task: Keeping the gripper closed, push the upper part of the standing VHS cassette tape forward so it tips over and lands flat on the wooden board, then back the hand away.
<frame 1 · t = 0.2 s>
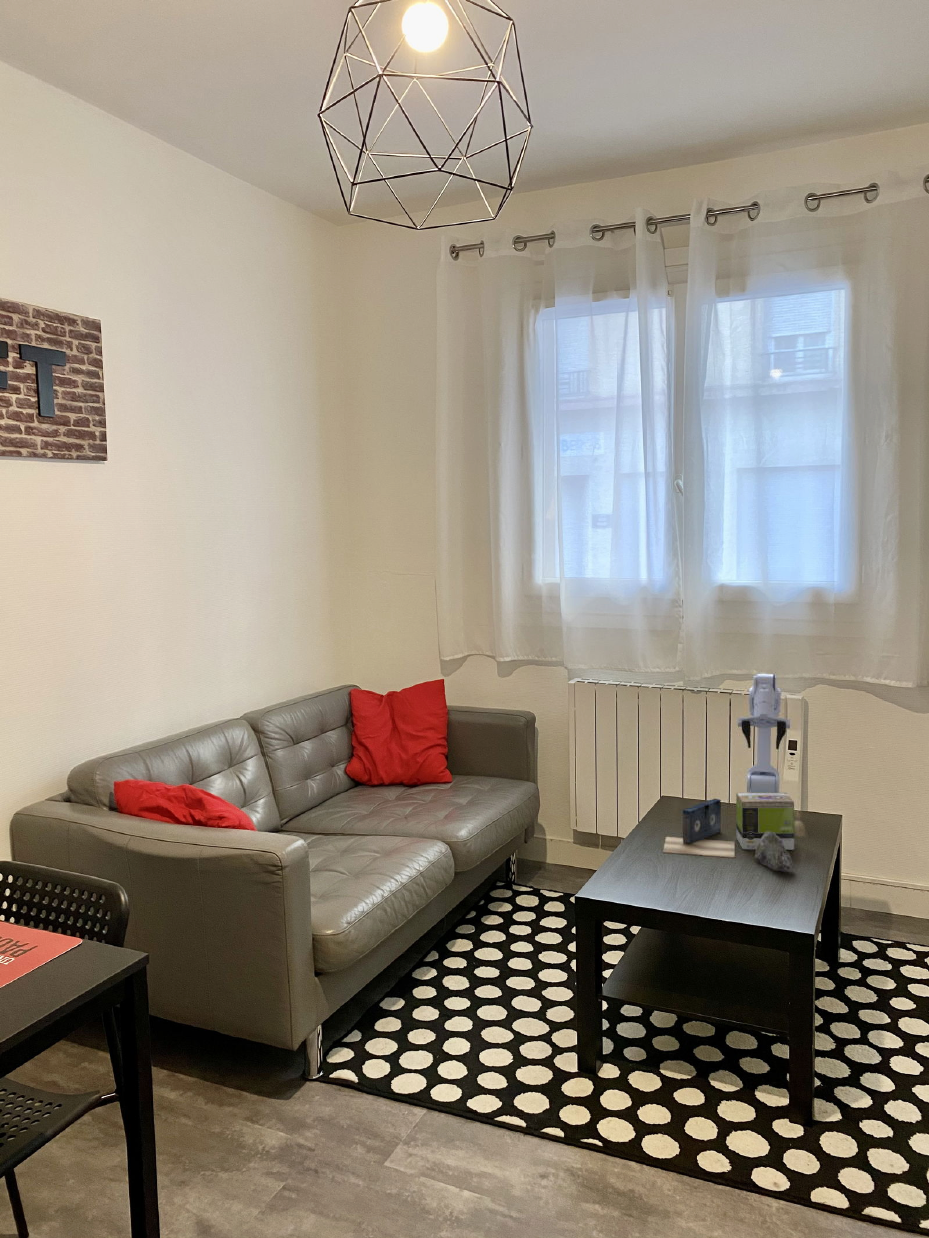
hand: (763, 746, 279), 31 cm above the table, tool tilted 45°, fingers open, 7 cm apart
wooden board: (699, 847, 287), on the table
vhs cassette tape: (702, 837, 296), on the table, touching wooden board
tea box: (764, 845, 289), on the table
mineral rock: (773, 869, 270), on the table
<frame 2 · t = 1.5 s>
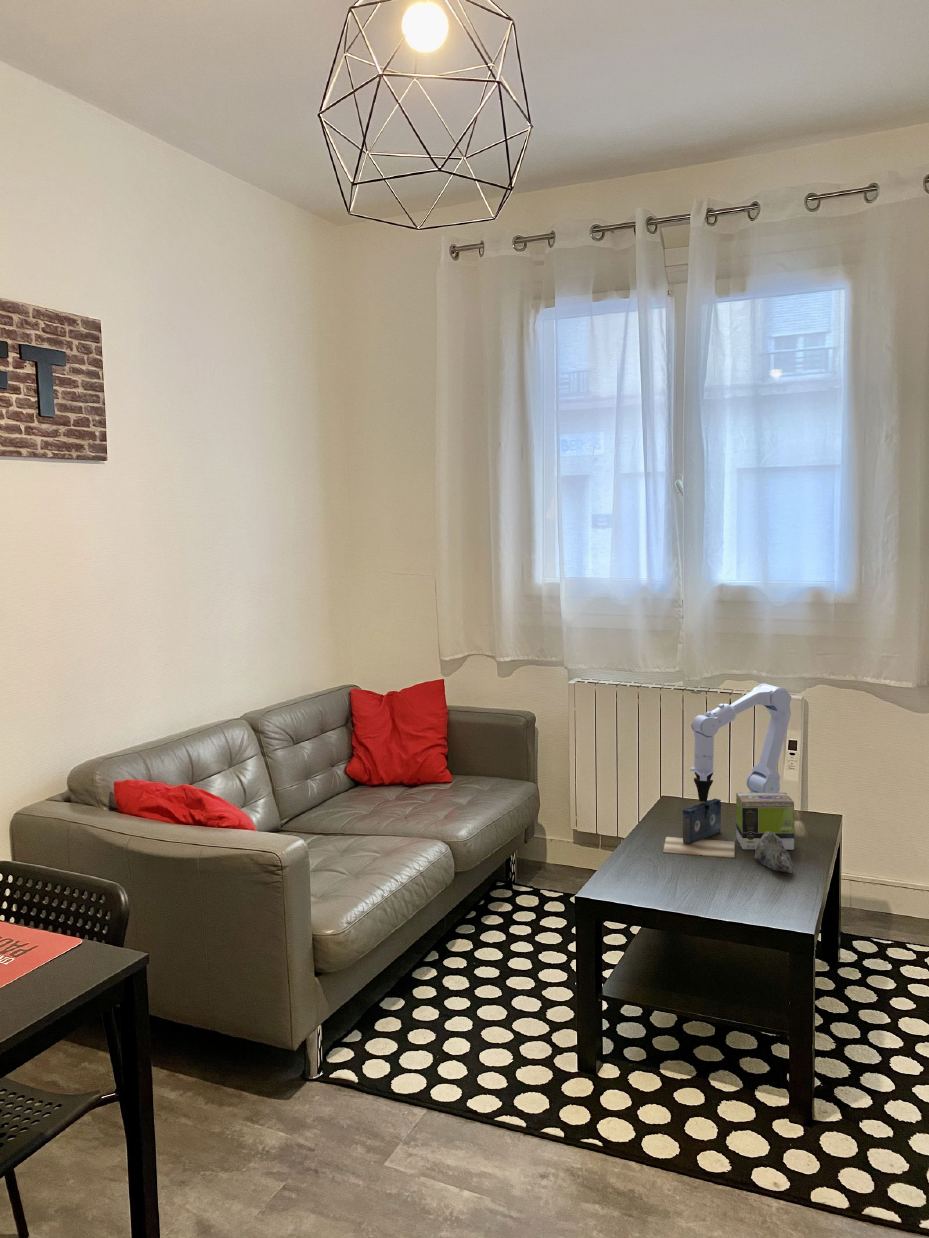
hand: (703, 797, 301), 11 cm above the table, tool pointing down, fingers open, 7 cm apart
nothing on the table moved.
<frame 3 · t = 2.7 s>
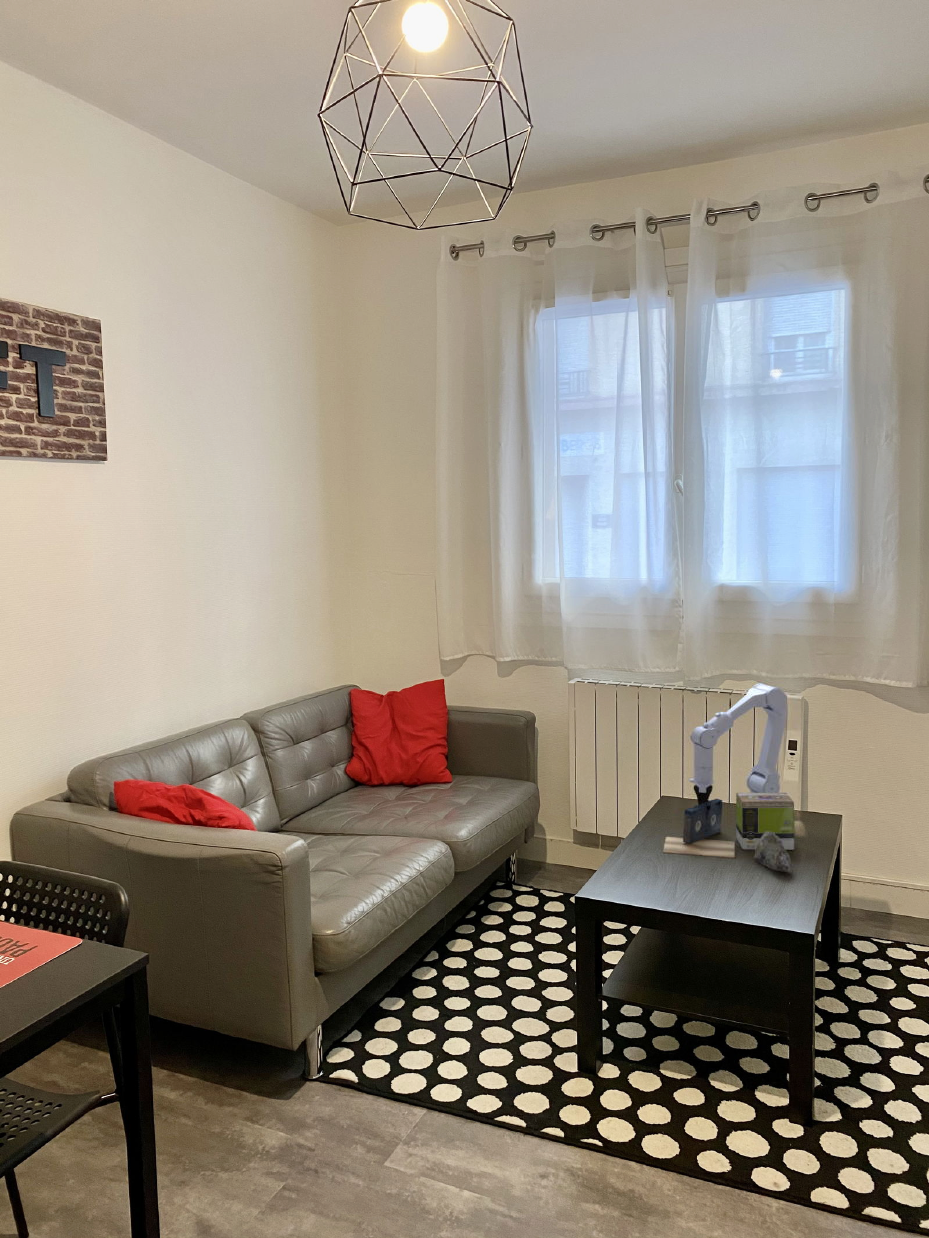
hand: (702, 809, 302), 7 cm above the table, tool pointing down, fingers closed
vhs cassette tape: (702, 837, 296), on the table, touching wooden board, gripper
everything else where it was.
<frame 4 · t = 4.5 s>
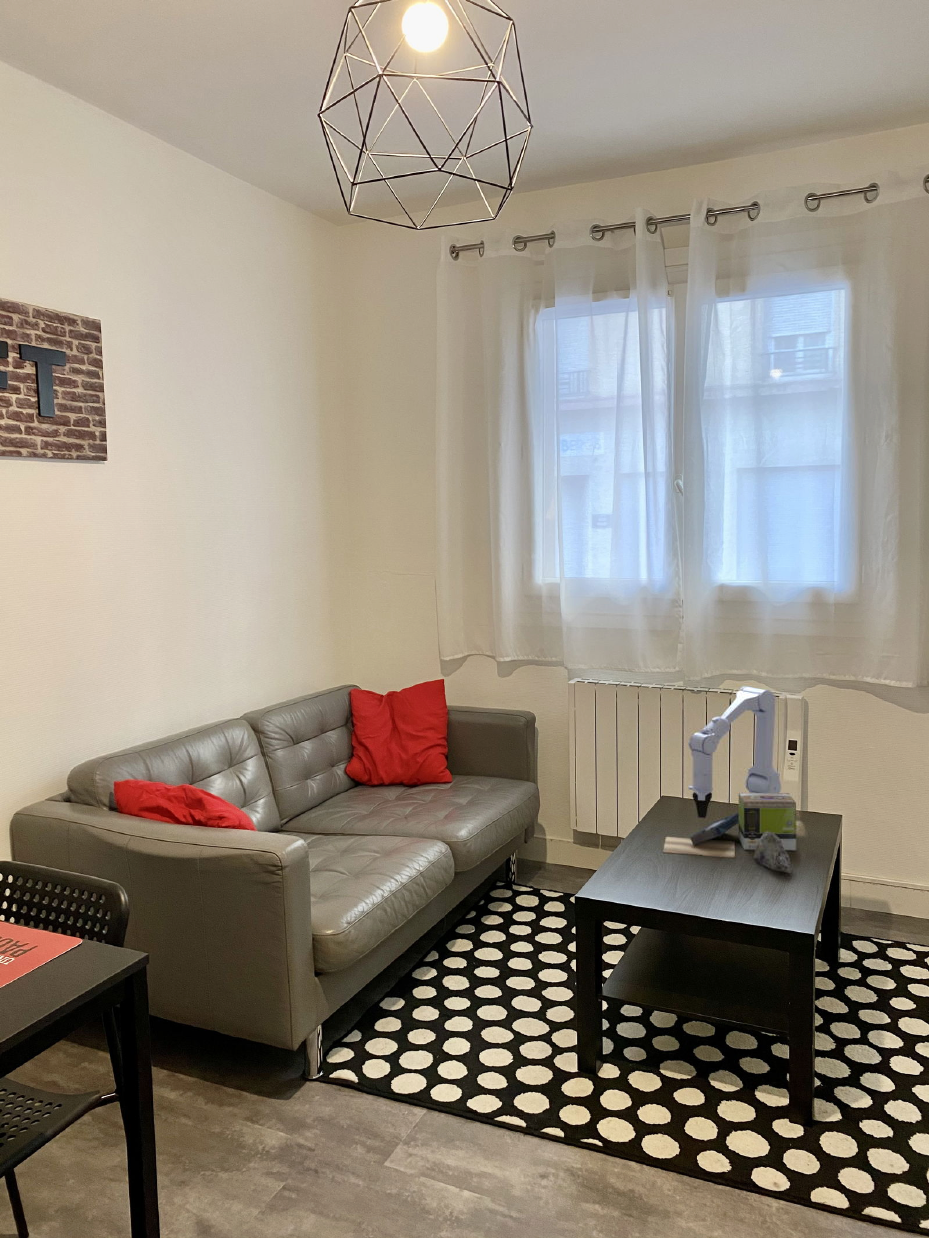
hand: (702, 817, 294), 7 cm above the table, tool pointing down, fingers closed
vhs cassette tape: (702, 833, 296), point 1 cm above the table, touching wooden board
everything else where it was.
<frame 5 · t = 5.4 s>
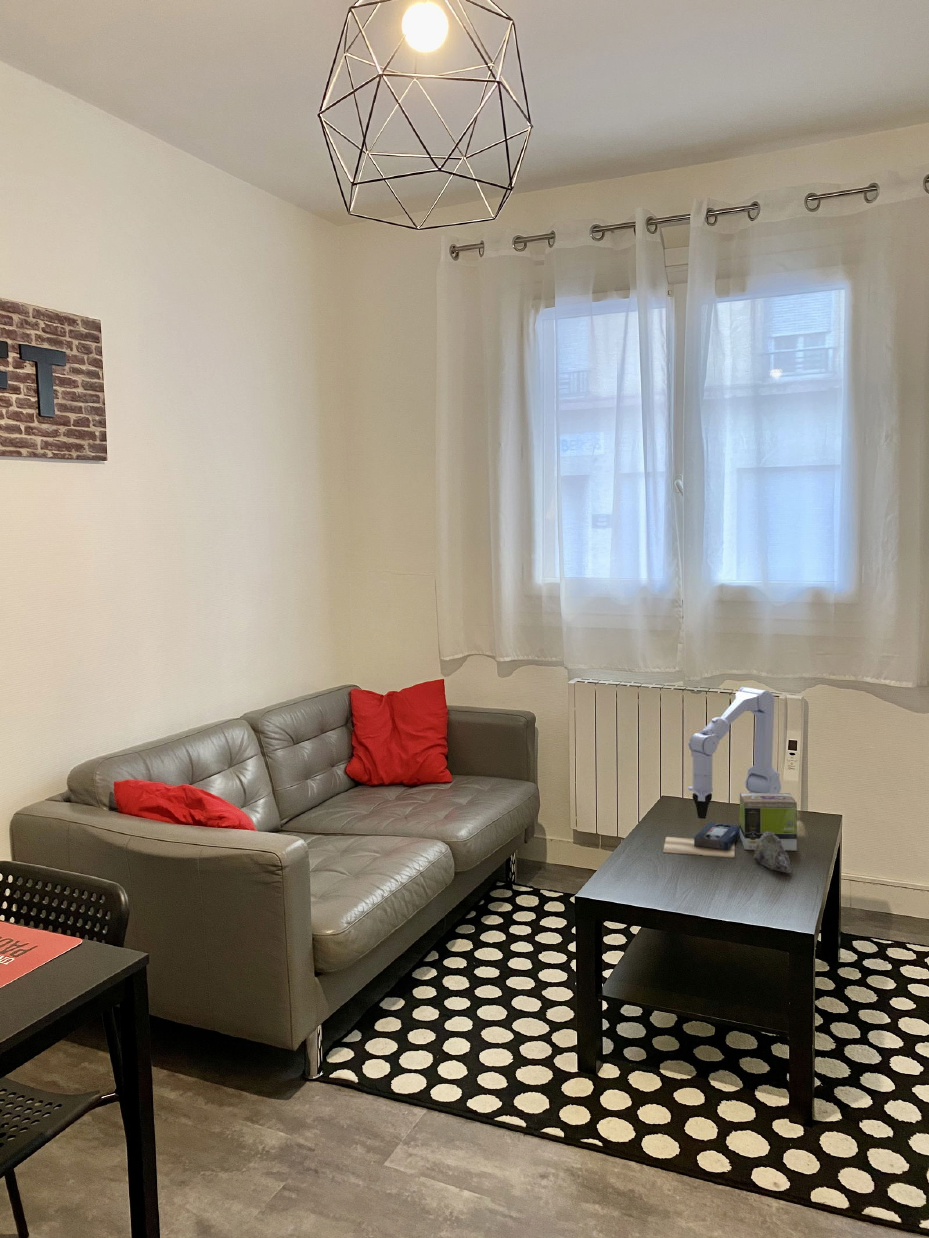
hand: (702, 817, 293), 7 cm above the table, tool pointing down, fingers closed
vhs cassette tape: (701, 833, 296), point 1 cm above the table, touching wooden board
everything else where it was.
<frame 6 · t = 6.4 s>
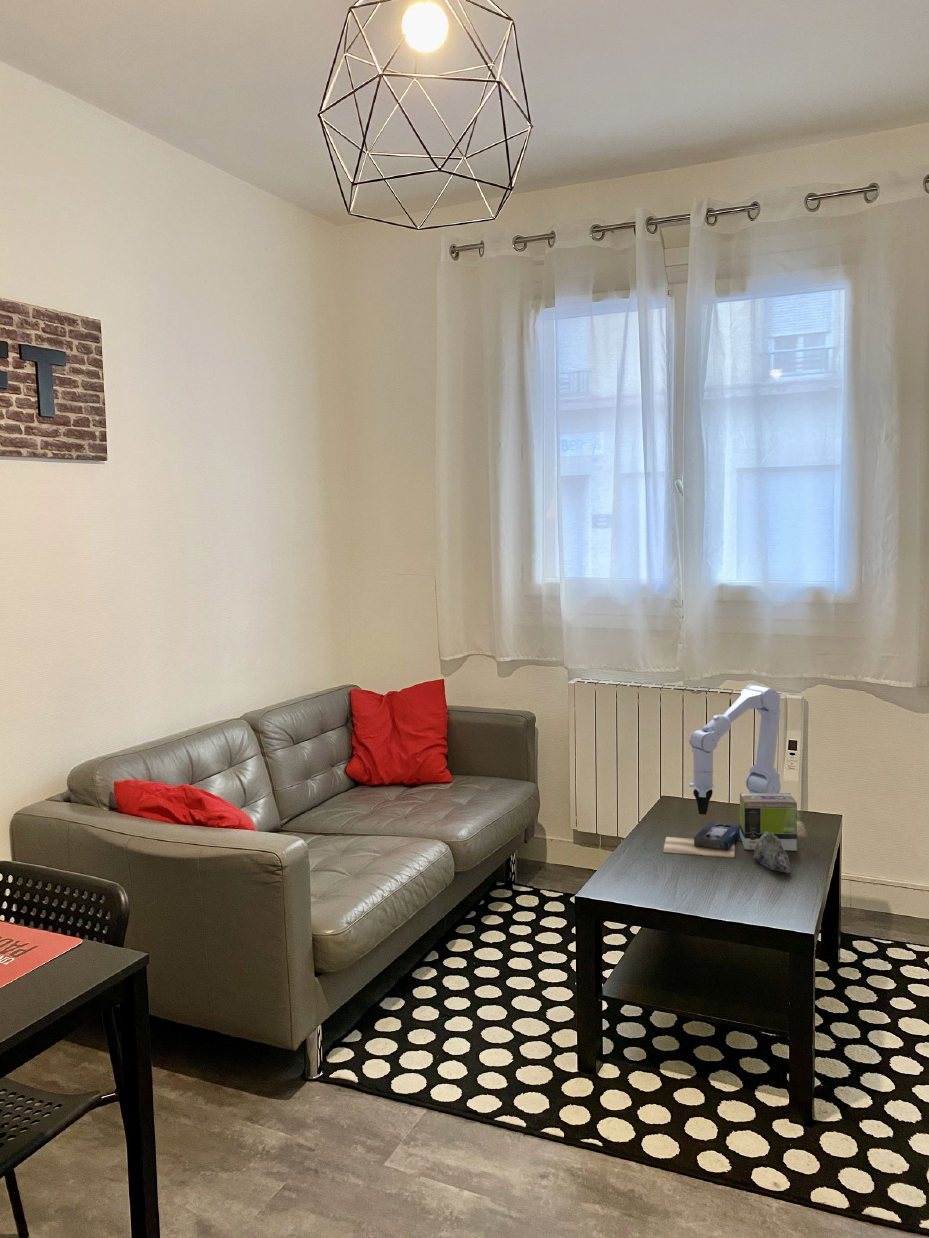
hand: (702, 813, 297), 7 cm above the table, tool pointing down, fingers closed
nothing on the table moved.
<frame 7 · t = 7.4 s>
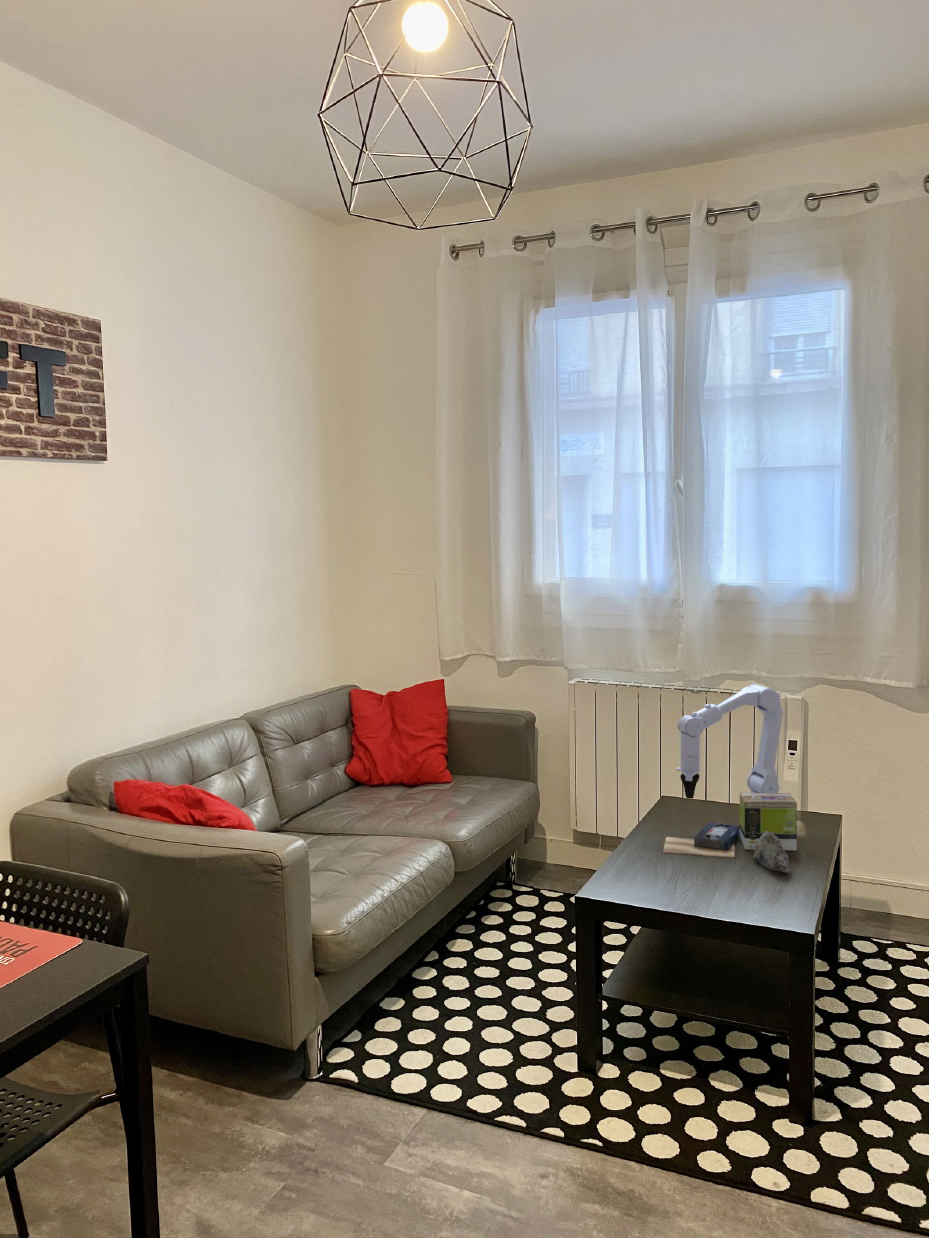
hand: (689, 797, 302), 10 cm above the table, tool pointing down, fingers closed
nothing on the table moved.
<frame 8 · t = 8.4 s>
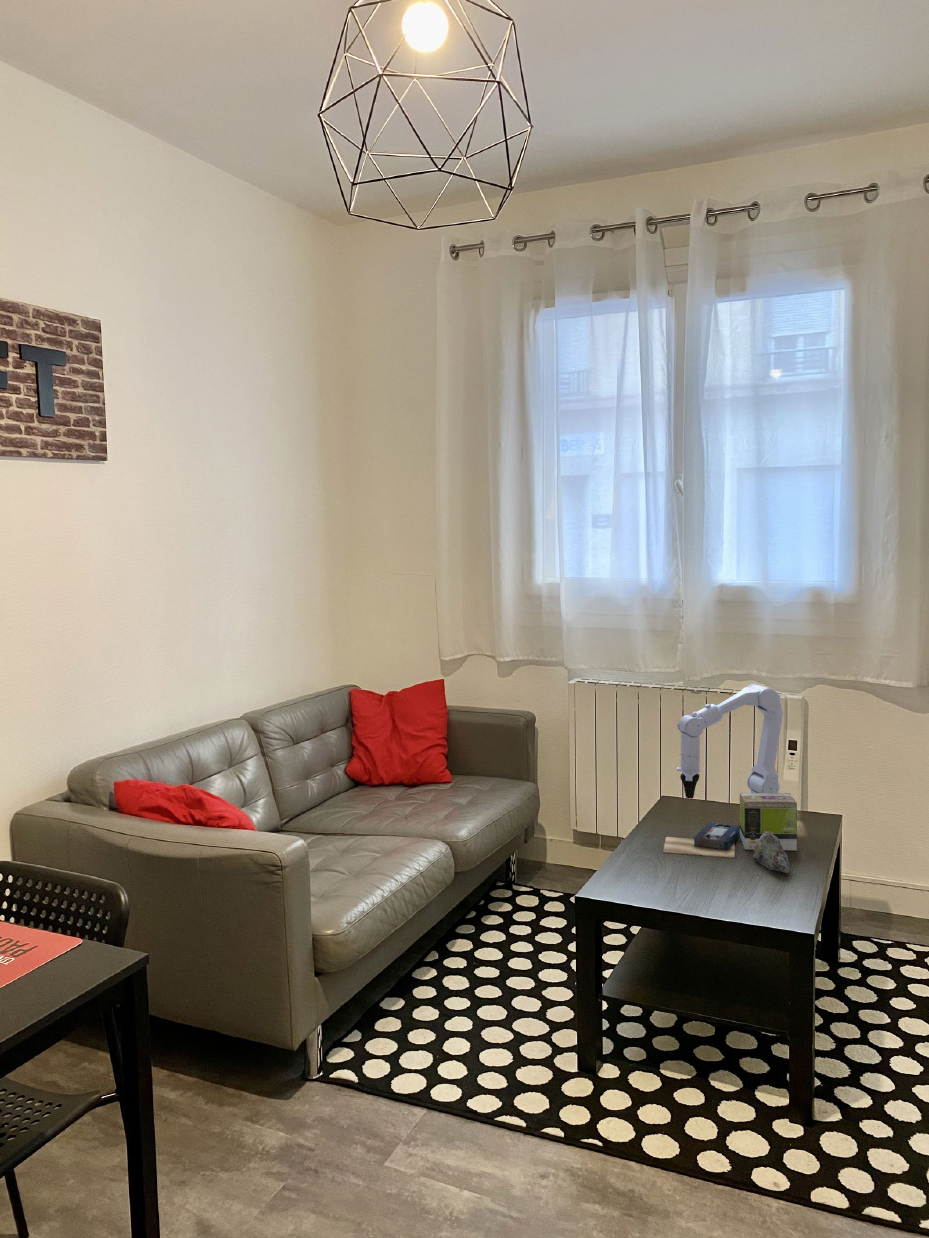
hand: (689, 797, 302), 10 cm above the table, tool pointing down, fingers closed
nothing on the table moved.
at the end: vhs cassette tape tilted 90°; vhs cassette tape inside the target area (5.7 cm from its centre), point 1.5 cm above the table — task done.
